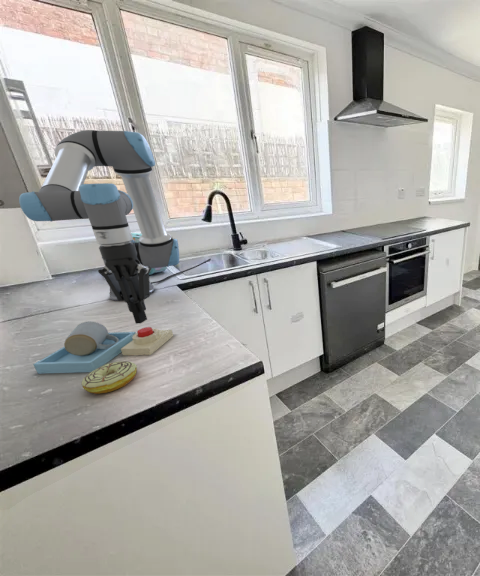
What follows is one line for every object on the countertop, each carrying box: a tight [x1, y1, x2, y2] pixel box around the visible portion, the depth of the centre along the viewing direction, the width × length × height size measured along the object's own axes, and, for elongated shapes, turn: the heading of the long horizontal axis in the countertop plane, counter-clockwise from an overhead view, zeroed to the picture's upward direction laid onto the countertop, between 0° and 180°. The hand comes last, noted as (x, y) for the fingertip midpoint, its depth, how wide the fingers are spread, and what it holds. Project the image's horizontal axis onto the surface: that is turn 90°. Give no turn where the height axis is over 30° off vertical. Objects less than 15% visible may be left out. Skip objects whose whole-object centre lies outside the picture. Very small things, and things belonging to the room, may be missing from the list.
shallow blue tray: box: [33, 331, 137, 375], centre depth 89 cm, size 17×15×3 cm
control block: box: [121, 328, 174, 356], centre depth 94 cm, size 11×8×4 cm
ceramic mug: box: [63, 321, 119, 356], centre depth 90 cm, size 11×8×8 cm
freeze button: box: [136, 326, 153, 337], centre depth 93 cm, size 4×4×2 cm
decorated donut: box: [81, 360, 138, 395], centre depth 77 cm, size 10×11×4 cm
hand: (141, 321), depth 92 cm, fingers closed
